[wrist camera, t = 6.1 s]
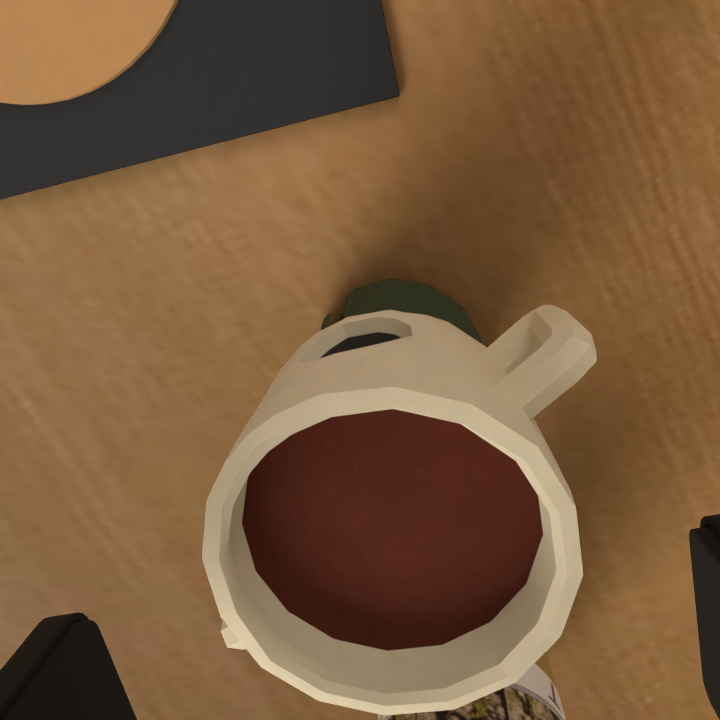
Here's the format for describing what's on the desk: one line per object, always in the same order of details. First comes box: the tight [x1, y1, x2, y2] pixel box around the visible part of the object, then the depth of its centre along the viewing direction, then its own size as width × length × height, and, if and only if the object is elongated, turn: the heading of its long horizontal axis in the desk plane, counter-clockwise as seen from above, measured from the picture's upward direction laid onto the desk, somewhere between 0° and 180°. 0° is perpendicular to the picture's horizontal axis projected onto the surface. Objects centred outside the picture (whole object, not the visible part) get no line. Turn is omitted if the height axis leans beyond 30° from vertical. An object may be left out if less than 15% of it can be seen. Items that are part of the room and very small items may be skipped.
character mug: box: [202, 279, 597, 716], centre depth 18 cm, size 11×7×13 cm, turn 135°
